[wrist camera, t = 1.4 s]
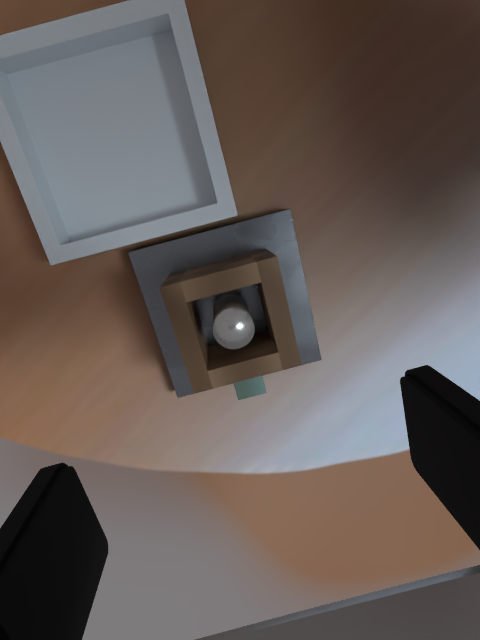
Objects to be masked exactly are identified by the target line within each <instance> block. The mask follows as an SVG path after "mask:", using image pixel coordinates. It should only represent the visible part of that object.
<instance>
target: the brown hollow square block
mask: <svg viewBox="0 0 480 640" xmlns="http://www.w3.org/2000/svg"><path fill="white" fill-rule="evenodd" d="M254 284H257V287H258V291H259V295H260V299H261V303H262V307H263V311H264V316H265V320H266V324H267V328H268V330H267V331H263V332H259V333H256V334H254V335H253V338H252V340H251V341H250V342H249V343H248V344H247V345H246V346H244V347H242V348H239V349H228V348H225V347H223V346H222V345H220V344H219V343H218V344H214V345H210V346H208V342H207V339H206V336H205V332H204V329H203V326H202V322H201V319H200V316H199V312H198V309H197V306H196V302H195V300H197V299H201V298H205V297H209V296H212V295H216V294H220V293H224V292H227V291H231V290H235V289H239V288H242V287H246V286H250V285H254ZM160 291H161V294H162V297H163V300H164V303H165V306H166V309H167V312H168V315H169V318H170V322H171V325H172V328H173V331H174V334H175V337H176V340H177V343H178V346H179V349H180V352H181V355H182V358H183V362H184V365H185V368H186V371H187V374H188V377H189V380H190V383H191V386H192V389H193V392H194V393H198V392H202V391H206V390H209V389H213V388H217V387H221V386H225V385H228V384H232V383H234V387H235V390H236V394H237V397H238V400H241V399H245V398H248V397H252V396H256V395H260V394H263V393H266V389H265V385H264V381H263V377H262V375H266V374H270V373H274V372H277V371H281V370H285V369H289V368H293V367H296V366H300V365H302V364H301V360H300V355H299V351H298V347H297V342H296V338H295V333H294V329H293V324H292V320H291V315H290V311H289V307H288V302H287V298H286V293H285V289H284V284H283V280H282V276H281V271H280V267H279V262H278V258H277V256H276V255H275V254H273V253H272V252H270V251H269V250H267V249H264V250H261V251H257V252H253V253H249V254H246V255H242V256H238V257H234V258H231V259H227V260H223V261H219V262H216V263H212V264H208V265H204V266H201V267H197V268H193V269H189V270H186V271H182V272H178V273H174V274H171V275H168V277H167V278H166V279H165V281H164V282H163V284H162V285H161V286H160Z"/></svg>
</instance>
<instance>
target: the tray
mask: <svg viewBox="0 0 480 640" xmlns="http://www.w3.org/2000/svg"><path fill="white" fill-rule="evenodd" d="M0 142H1V144H2V147H3V149H4V152H5V154H6V156H7V159H8V161H9V164H10V166H11V169H12V171H13V174H14V176H15V179H16V181H17V184H18V186H19V189H20V191H21V193H22V196H23V198H24V201H25V203H26V206H27V208H28V211H29V213H30V216H31V218H32V221H33V223H34V226H35V228H36V230H37V233H38V235H39V238H40V240H41V243H42V245H43V248H44V250H45V253H46V255H47V258H48V260H49V263H50V265H55V264H58V263H62V262H66V261H70V260H73V259H77V258H81V257H85V256H88V255H92V254H96V253H100V252H103V251H107V250H111V249H115V248H118V247H122V246H126V245H129V244H133V243H137V242H141V241H144V240H148V239H152V238H156V237H159V236H163V235H167V234H171V233H174V232H178V231H182V230H186V229H189V228H193V227H197V226H200V225H204V224H208V223H212V222H215V221H219V220H223V219H227V218H230V217H234V216H238V214H237V210H236V206H235V202H234V198H233V194H232V190H231V186H230V182H229V178H228V174H227V170H226V166H225V162H224V158H223V154H222V150H221V146H220V142H219V138H218V133H217V129H216V125H215V121H214V117H213V113H212V109H211V105H210V101H209V97H208V93H207V89H206V85H205V81H204V77H203V73H202V69H201V65H200V61H199V57H198V53H197V49H196V45H195V41H194V37H193V33H192V29H191V25H190V21H189V17H188V13H187V9H186V5H185V1H184V0H128V1H124V2H121V3H117V4H113V5H110V6H106V7H102V8H99V9H95V10H91V11H88V12H84V13H80V14H76V15H73V16H69V17H65V18H62V19H58V20H54V21H51V22H47V23H43V24H40V25H36V26H32V27H29V28H25V29H21V30H18V31H14V32H10V33H7V34H3V35H0Z"/></svg>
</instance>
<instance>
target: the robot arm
mask: <svg viewBox="0 0 480 640" xmlns="http://www.w3.org/2000/svg"><path fill="white" fill-rule="evenodd" d="M400 384H401V391H402V398H403V405H404V412H405V419H406V426H407V433H408V440H409V447H410V454H411V460H412V462H413V465H414V467H415V469H416V471H417V472H418V473H419V474H420V476H421V477H422V478H423V479H424V481H425V482H426V483H427V484H428V486H429V487H430V488H431V490H432V491H433V492H434V493H435V495H436V496H437V497H438V498H439V500H440V501H441V502H442V503H443V505H444V506H445V507H446V508H447V510H448V511H449V512H450V513H451V515H452V516H453V517H454V518H455V520H456V521H457V522H458V523H459V525H460V526H461V527H462V528H463V529H464V531H465V532H466V533H467V535H468V536H469V537H470V538H471V540H472V541H473V542H474V543H475V545H476V546H477V547H478V548H479V550H480V401H479V400H478V399H476V398H475V397H473V396H472V395H471V394H469V393H468V392H466V391H465V390H463V389H462V388H460V387H459V386H458V385H456V384H455V383H453V382H452V381H450V380H449V379H448V378H446V377H445V376H443V375H442V374H440V373H439V372H437V371H436V370H435V369H433V368H432V367H430V366H428V365H425V366H421V367H418V368H414V369H410V370H407V371H406V372H405V377H401V379H400ZM107 555H108V542H107V539H106V536H105V534H104V532H103V530H102V528H101V525H100V523H99V521H98V519H97V517H96V514H95V512H94V510H93V508H92V506H91V504H90V501H89V499H88V497H87V495H86V493H85V491H84V488H83V486H82V484H81V482H80V480H79V478H78V475H77V473H76V471H75V469H74V468H73V467H72V466H69V467H68V465H66V464H65V463H59V464H56V465H52V466H48V467H45V468H42V469H40V471H39V472H38V473H37V475H36V476H35V478H34V479H33V481H32V482H31V484H30V485H29V487H28V488H27V490H26V491H25V492H24V494H23V495H22V497H21V499H20V500H19V502H18V503H17V504H16V506H15V507H14V509H13V510H12V512H11V513H10V515H9V517H8V518H7V519H6V521H5V522H4V524H3V525H2V527H1V528H0V640H82V637H83V634H84V631H85V627H86V624H87V621H88V617H89V614H90V611H91V608H92V604H93V600H94V597H95V594H96V591H97V588H98V585H99V581H100V578H101V575H102V571H103V568H104V565H105V561H106V558H107ZM195 640H480V565H478V566H474V567H470V568H466V569H462V570H458V571H453V572H449V573H445V574H441V575H437V576H433V577H429V578H425V579H421V580H417V581H414V582H410V583H406V584H402V585H398V586H395V587H391V588H387V589H383V590H379V591H375V592H372V593H368V594H364V595H360V596H357V597H353V598H349V599H346V600H341V601H338V602H334V603H330V604H326V605H322V606H318V607H314V608H311V609H307V610H303V611H300V612H296V613H292V614H288V615H285V616H281V617H277V618H273V619H270V620H266V621H262V622H258V623H255V624H251V625H247V626H243V627H240V628H236V629H233V630H229V631H225V632H222V633H218V634H214V635H210V636H206V637H203V638H200V639H195Z"/></svg>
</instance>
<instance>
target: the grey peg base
mask: <svg viewBox="0 0 480 640" xmlns="http://www.w3.org/2000/svg"><path fill="white" fill-rule="evenodd" d="M264 249H267V250H269V251H270V252H272V253H273V254H275V255H276V256H277V258H278V262H279V267H280V271H281V276H282V280H283V284H284V289H285V293H286V298H287V302H288V307H289V311H290V315H291V320H292V324H293V329H294V333H295V338H296V342H297V347H298V351H299V355H300V360H301V364H302V365H304V364H307V363H311V362H315V361H319V360H321V355H320V350H319V345H318V341H317V336H316V331H315V326H314V321H313V317H312V312H311V307H310V302H309V297H308V292H307V288H306V283H305V278H304V273H303V268H302V264H301V259H300V254H299V249H298V244H297V239H296V235H295V230H294V225H293V220H292V215H291V210H290V209H286V210H282V211H279V212H275V213H271V214H267V215H264V216H260V217H256V218H253V219H249V220H245V221H241V222H238V223H234V224H230V225H226V226H223V227H219V228H215V229H211V230H208V231H204V232H200V233H196V234H193V235H189V236H185V237H181V238H178V239H174V240H170V241H167V242H163V243H159V244H155V245H152V246H148V247H144V248H140V249H137V250H133V251H130V252H128V254H129V257H130V260H131V263H132V266H133V268H134V271H135V274H136V277H137V280H138V283H139V286H140V289H141V292H142V295H143V298H144V301H145V304H146V307H147V309H148V312H149V315H150V318H151V321H152V324H153V327H154V330H155V333H156V336H157V339H158V342H159V345H160V348H161V351H162V353H163V356H164V359H165V362H166V365H167V368H168V371H169V374H170V377H171V380H172V383H173V386H174V389H175V392H176V395H177V397H178V398H179V397H183V396H186V395H190V394H194V392H193V389H192V386H191V383H190V380H189V377H188V374H187V371H186V368H185V365H184V362H183V358H182V355H181V352H180V349H179V346H178V343H177V340H176V337H175V334H174V331H173V328H172V325H171V322H170V318H169V315H168V312H167V309H166V306H165V303H164V300H163V297H162V294H161V291H160V286H161V285H162V284H163V282H164V281H165V279H166V278H167V277H168V275H171V274H174V273H178V272H182V271H186V270H189V269H193V268H197V267H201V266H204V265H208V264H212V263H216V262H219V261H223V260H227V259H231V258H234V257H238V256H242V255H246V254H249V253H253V252H257V251H261V250H264ZM195 302H196V306H197V309H198V312H199V316H200V319H201V322H202V326H203V329H204V332H205V336H206V339H207V342H208V346H210V345H214V344H218V343H219V344H220V345H222V346H223V347H225V348H228V349H239V348H242V347H244V346H246V345H247V344H248V343H249V342H250V341H251V340H252V338H253V335H254V334H256V333H259V332H263V331H267V330H268V328H267V324H266V320H265V316H264V311H263V307H262V303H261V299H260V295H259V291H258V287H257V284H254V285H250V286H246V287H242V288H239V289H235V290H231V291H227V292H224V293H220V294H216V295H212V296H209V297H205V298H201V299H197V300H195Z"/></svg>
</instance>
